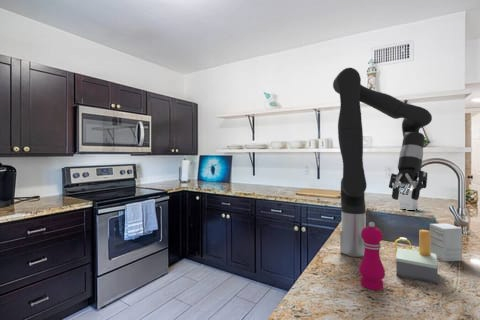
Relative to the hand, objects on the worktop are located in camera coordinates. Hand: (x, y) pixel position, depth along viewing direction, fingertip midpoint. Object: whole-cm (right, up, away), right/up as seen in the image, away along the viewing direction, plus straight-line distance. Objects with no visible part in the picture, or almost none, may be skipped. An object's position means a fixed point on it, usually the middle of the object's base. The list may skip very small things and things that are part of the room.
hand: (404, 199), depth 97 cm
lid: (-1, -20, -8) cm, 21 cm away
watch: (+7, -24, +11) cm, 27 cm away
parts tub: (-1, -24, -8) cm, 25 cm away
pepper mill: (-20, -25, -15) cm, 35 cm away
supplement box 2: (+19, -24, +5) cm, 31 cm away
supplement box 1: (+61, -22, +91) cm, 111 cm away
